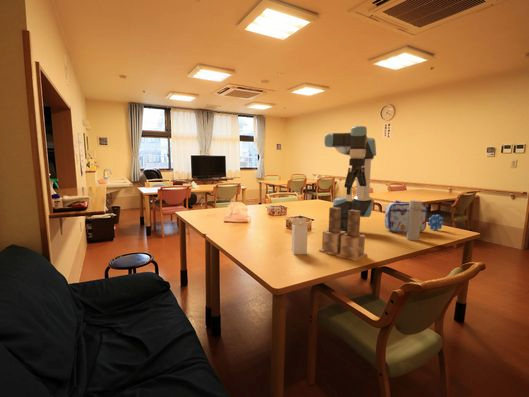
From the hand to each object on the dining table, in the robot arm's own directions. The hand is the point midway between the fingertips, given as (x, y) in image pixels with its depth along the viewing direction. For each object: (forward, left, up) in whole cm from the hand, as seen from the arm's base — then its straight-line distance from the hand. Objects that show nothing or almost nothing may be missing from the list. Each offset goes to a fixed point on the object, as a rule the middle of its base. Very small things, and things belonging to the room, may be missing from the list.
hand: (355, 199), depth 146 cm
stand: (-5, 0, -30) cm, 30 cm away
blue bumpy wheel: (+20, +93, -30) cm, 100 cm away
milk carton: (-23, -15, -30) cm, 41 cm away
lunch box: (+4, +73, -30) cm, 79 cm away
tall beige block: (+14, +55, -30) cm, 64 cm away
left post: (-11, 0, -29) cm, 31 cm away
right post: (0, 0, -29) cm, 29 cm away
